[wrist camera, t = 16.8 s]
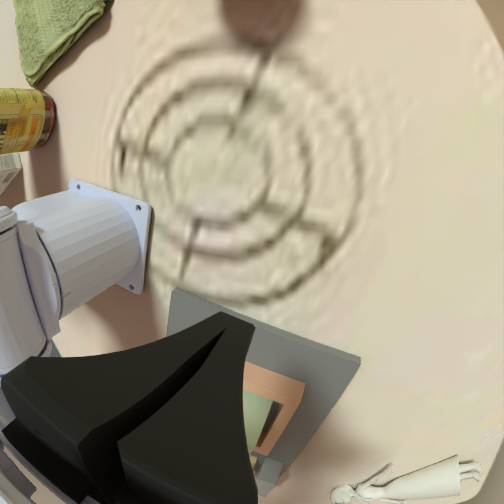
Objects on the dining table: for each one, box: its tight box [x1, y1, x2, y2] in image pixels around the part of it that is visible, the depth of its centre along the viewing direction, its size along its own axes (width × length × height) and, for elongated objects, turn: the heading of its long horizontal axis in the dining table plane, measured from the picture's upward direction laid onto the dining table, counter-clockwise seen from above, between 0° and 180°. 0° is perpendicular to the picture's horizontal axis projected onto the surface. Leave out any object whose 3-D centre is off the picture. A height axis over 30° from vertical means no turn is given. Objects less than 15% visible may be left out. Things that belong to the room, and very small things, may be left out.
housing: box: [166, 288, 360, 497], centre depth 25 cm, size 15×20×4 cm
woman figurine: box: [330, 455, 481, 504], centre depth 23 cm, size 12×4×18 cm
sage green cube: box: [243, 389, 273, 455], centre depth 22 cm, size 5×5×6 cm
